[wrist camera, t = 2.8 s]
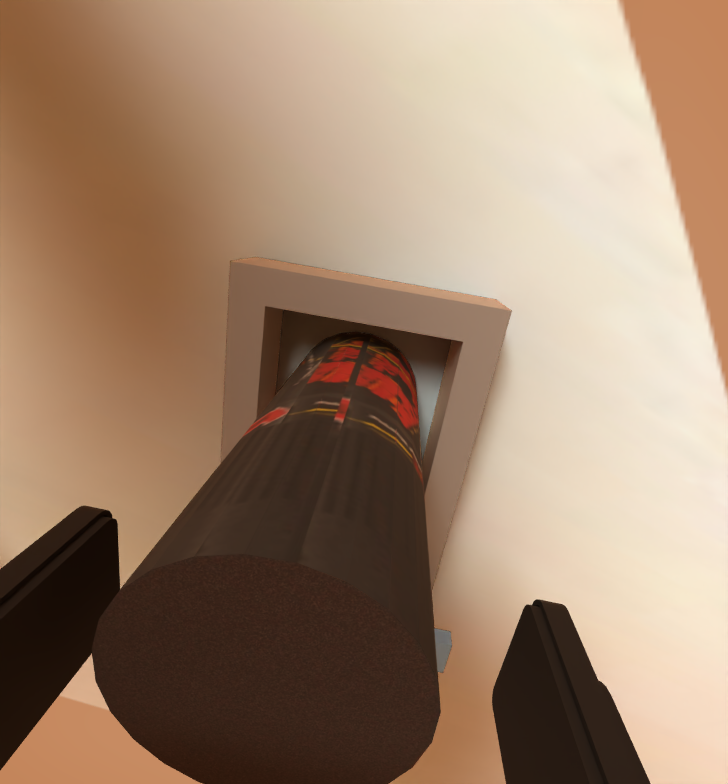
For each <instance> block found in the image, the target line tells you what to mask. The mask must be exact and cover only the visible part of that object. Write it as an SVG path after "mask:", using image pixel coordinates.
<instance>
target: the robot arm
mask: <svg viewBox="0 0 728 784" xmlns="http://www.w3.org/2000/svg"><path fill="white" fill-rule="evenodd" d="M119 590H120V576H119V550H118V524H117V521H116V519H113V518H112V514H111V512H110V511H108V510H103V509H99V508H94V507H89V506H81V507H79V508H77V509H76V510H75V511H73V512H72V513H71V514H69V515H68V516H67V517H66V518H64V519H63V520H62V521H61V522H59V523H58V524H57V525H56V526H54V527H53V528H52V529H51V530H49V531H48V532H47V533H45V534H44V535H43V536H42V537H40V538H39V539H38V540H37V541H35V542H34V543H33V544H32V545H30V546H29V547H28V548H27V549H25V550H24V551H23V552H21V553H20V554H19V555H18V556H16V557H15V558H14V559H13V560H11V561H10V562H9V563H8V564H6V565H5V566H4V567H3V568H1V569H0V770H1V769H2V768H3V766H4V765H5V764H6V762H7V761H8V760H9V759H10V757H11V756H12V755H13V753H14V752H15V751H16V750H17V748H18V747H19V746H20V744H21V743H22V742H23V741H24V739H25V738H26V737H27V735H28V734H29V733H30V732H31V730H32V729H33V727H35V725H36V724H37V723H38V721H39V720H40V719H41V718H42V716H43V715H44V714H45V712H46V711H47V710H48V708H49V707H50V706H51V705H52V703H53V702H54V701H55V700H56V698H57V697H58V696H59V694H60V693H61V692H62V691H63V689H64V688H65V687H66V685H67V684H68V683H69V682H70V680H71V679H72V678H73V677H74V675H75V674H76V673H77V671H78V670H79V669H80V668H81V666H82V665H83V664H84V662H85V661H86V660H87V659H88V657H89V656H90V655H91V653H92V646H93V642H94V637H95V633H96V629H97V625H98V621H99V618H100V617H101V615H102V614H103V613H104V611H105V610H106V608H107V607H108V606H109V604H110V603H111V601H112V600H113V599H114V597H115V596H116V595H117V593H118V592H119ZM492 705H493V712H494V718H495V723H496V729H497V734H498V740H499V746H500V751H501V757H502V762H503V768H504V774H505V779H506V784H650V781H649V779H648V777H647V775H646V772H645V770H644V768H643V766H642V763H641V761H640V759H639V757H638V755H637V752H636V750H635V748H634V746H633V743H632V741H631V739H630V737H629V734H628V732H627V730H626V728H625V725H624V723H623V721H622V719H621V716H620V714H619V712H618V710H617V707H616V705H615V703H614V701H613V698H612V696H611V694H610V693H609V691H608V689H607V687H606V686H605V685H604V684H603V683H602V682H600V681H598V679H597V677H596V674H595V672H594V670H593V667H592V665H591V663H590V660H589V658H588V656H587V653H586V651H585V649H584V646H583V644H582V642H581V640H580V637H579V635H578V633H577V630H576V628H575V626H574V623H573V621H572V619H571V616H570V614H569V612H568V610H567V608H566V607H565V606H564V605H563V604H558V603H553V602H548V601H543V600H537V599H536V600H535V601H534V602H533V604H532V605H526V606H525V607H524V609H523V612H522V615H521V617H520V620H519V622H518V625H517V628H516V630H515V633H514V636H513V638H512V641H511V644H510V646H509V649H508V651H507V654H506V657H505V659H504V662H503V665H502V667H501V670H500V673H499V675H498V678H497V680H496V683H495V686H494V689H493V695H492Z"/></svg>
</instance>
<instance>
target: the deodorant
mask: <svg viewBox="0 0 728 784" xmlns="http://www.w3.org/2000/svg"><path fill="white" fill-rule="evenodd" d="M92 657H93V664H94V672H95V679H96V683H97V685H98V687H99V689H100V691H101V693H102V695H103V697H104V699H105V701H106V703H107V706H108V708H109V710H110V712H111V713H112V714H113V715H114V716H115V718H116V719H117V720H118V721H119V722H120V724H121V725H122V726H123V727H124V728H125V730H126V731H127V732H128V733H129V734H130V736H131V737H132V738H133V739H134V740H135V741H136V742H138V743H139V744H140V745H142V746H143V747H144V748H145V749H146V750H148V751H149V752H150V753H152V754H153V755H154V756H155V757H157V758H158V759H159V760H160V761H162V762H163V763H164V764H166V765H168V766H170V767H172V768H174V769H176V770H177V771H179V772H181V773H183V774H185V775H187V776H188V777H190V778H192V779H194V780H196V781H198V782H200V783H203V784H389V783H390V782H392V781H393V780H395V779H396V778H397V777H399V776H400V775H402V774H403V773H405V772H406V771H408V770H409V769H411V768H412V767H413V766H414V765H415V763H416V762H417V761H418V760H419V758H420V757H421V756H422V754H423V753H424V752H425V750H426V749H427V748H428V747H429V745H430V744H431V743H432V740H433V736H434V733H435V730H436V726H437V723H438V719H439V716H440V712H441V710H440V697H439V684H438V671H437V657H436V644H435V631H434V617H433V604H432V591H431V578H430V564H429V551H428V538H427V525H426V511H425V498H424V485H423V472H422V458H421V445H420V432H419V419H418V405H417V392H416V382H415V376H414V374H413V371H412V369H411V366H410V363H409V362H408V361H407V359H406V358H405V357H404V355H403V354H402V353H401V351H400V350H399V349H397V348H396V347H395V346H393V345H392V344H391V343H389V342H388V341H387V340H384V339H382V338H380V337H377V336H375V335H373V334H368V333H361V332H349V333H340V334H337V335H335V336H332V337H330V338H327V339H325V340H323V341H322V342H321V343H319V344H318V345H317V346H316V347H314V348H313V349H312V350H311V351H310V353H309V354H308V355H307V356H306V358H305V359H304V360H303V361H302V363H301V364H300V365H299V366H298V368H297V369H296V370H295V371H294V373H293V374H292V375H291V376H290V378H289V379H288V380H287V381H286V383H285V384H284V385H283V386H282V388H281V389H280V390H279V391H278V393H277V394H276V395H275V396H274V398H273V399H272V400H271V401H270V403H269V404H268V405H267V406H266V408H265V409H264V410H263V411H262V413H261V414H260V415H259V416H258V418H257V419H256V420H255V421H254V423H253V424H252V425H251V426H250V428H249V429H248V430H247V431H246V433H245V434H244V435H243V436H242V438H241V439H240V440H239V441H238V443H237V444H236V445H235V446H234V448H233V449H232V450H231V451H230V453H229V454H228V455H227V456H226V458H225V459H224V460H223V461H222V463H221V464H220V465H219V466H218V468H217V469H216V470H215V471H214V473H213V474H212V475H211V476H210V478H209V479H208V480H207V482H206V483H205V484H204V485H203V487H202V488H201V489H200V490H199V492H198V493H197V494H196V495H195V497H194V498H193V499H192V500H191V502H190V503H189V504H188V505H187V507H186V508H185V509H184V510H183V512H182V513H181V514H180V515H179V517H178V518H177V519H176V520H175V522H174V523H173V524H172V525H171V527H170V528H169V529H168V530H167V532H166V533H165V534H164V535H163V537H162V538H161V539H160V540H159V542H158V543H157V544H156V545H155V547H154V548H153V549H152V550H151V552H150V553H149V554H148V555H147V557H146V558H145V559H144V560H143V562H142V563H141V564H140V565H139V567H138V568H137V569H136V570H135V572H134V573H133V574H132V575H131V577H130V578H129V579H128V580H127V582H126V583H125V584H124V585H123V587H122V588H121V589H120V590H119V592H118V593H117V595H116V596H115V597H114V599H113V600H112V601H111V603H110V604H109V606H108V607H107V608H106V610H105V611H104V613H103V614H102V615H101V617H100V618H99V621H98V625H97V629H96V633H95V637H94V642H93V646H92Z"/></svg>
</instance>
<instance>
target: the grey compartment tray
mask: <svg viewBox="0 0 728 784" xmlns="http://www.w3.org/2000/svg"><path fill="white" fill-rule="evenodd" d="M283 309H284V310H290V311H295V312H301V313H307V314H312V315H318V316H323V317H329V318H334V319H340V320H346V321H351V322H357V323H362V324H368V325H373V326H379V327H385V328H390V329H396V330H401V331H407V332H412V333H418V334H423V335H429V336H435V337H440V338H446V339H451V340H452V341H451V345H450V349H449V353H448V357H447V361H446V366H445V370H444V374H443V378H442V382H441V386H440V390H439V395H438V399H437V403H436V407H435V411H434V415H433V420H432V424H431V428H430V432H429V436H428V440H427V444H426V449H425V453H424V457H423V461H422V472H423V485H424V498H425V511H426V525H427V538H428V551H429V564H430V578H431V591H432V588H433V585H434V581H435V578H436V574H437V571H438V567H439V564H440V560H441V557H442V553H443V550H444V546H445V543H446V539H447V536H448V532H449V529H450V525H451V522H452V518H453V515H454V511H455V508H456V504H457V501H458V497H459V494H460V490H461V487H462V483H463V480H464V476H465V473H466V469H467V466H468V462H469V459H470V455H471V452H472V448H473V445H474V441H475V438H476V434H477V431H478V427H479V424H480V420H481V417H482V413H483V410H484V406H485V403H486V399H487V396H488V392H489V389H490V385H491V382H492V378H493V375H494V371H495V368H496V364H497V361H498V357H499V354H500V350H501V347H502V343H503V340H504V336H505V333H506V329H507V326H508V322H509V319H510V315H511V312H512V310H510V309H509V308H507V307H506V306H505V305H503V304H502V303H500V302H499V301H498V300H496V299H491V298H485V297H479V296H474V295H468V294H462V293H457V292H451V291H445V290H440V289H434V288H428V287H423V286H417V285H411V284H406V283H400V282H394V281H389V280H383V279H377V278H372V277H366V276H360V275H355V274H349V273H343V272H338V271H332V270H327V269H321V268H315V267H310V266H304V265H298V264H293V263H287V262H281V261H276V260H270V259H264V258H259V257H252V258H245V259H239V260H232V261H230V276H229V297H228V318H227V339H226V360H225V381H224V402H223V423H222V444H221V463H222V461H223V460H224V459H225V458H226V456H227V455H228V454H229V453H230V451H231V450H232V449H233V448H234V446H235V445H236V444H237V443H238V441H239V440H240V439H241V438H242V436H243V435H244V434H245V433H246V431H247V430H248V429H249V428H250V426H251V425H252V424H253V423H254V421H255V420H256V419H257V418H258V416H259V415H260V414H261V413H262V411H263V410H264V409H265V408H266V406H267V405H268V404H269V403H270V401H271V400H272V399H273V398H274V396H275V394H276V383H277V372H278V362H279V351H280V340H281V330H282V319H283ZM434 631H435V644H436V657H437V671H438V672H441V673H443V672H444V669H445V665H446V662H447V659H448V656H449V653H450V650H451V647H452V640H451V632H450V631H445V630H440V629H435V628H434Z"/></svg>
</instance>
